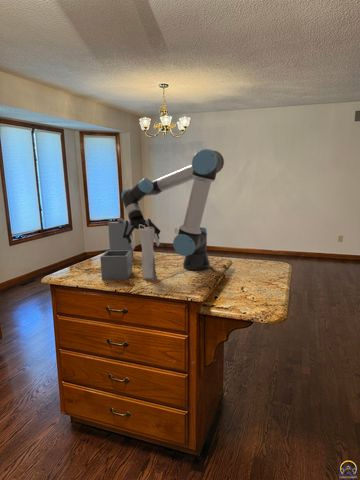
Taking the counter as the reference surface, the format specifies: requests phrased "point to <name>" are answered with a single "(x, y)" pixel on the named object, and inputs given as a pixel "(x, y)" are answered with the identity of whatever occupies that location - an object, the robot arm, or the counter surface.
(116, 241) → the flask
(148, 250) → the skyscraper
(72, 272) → the counter surface
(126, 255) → the grey open box
